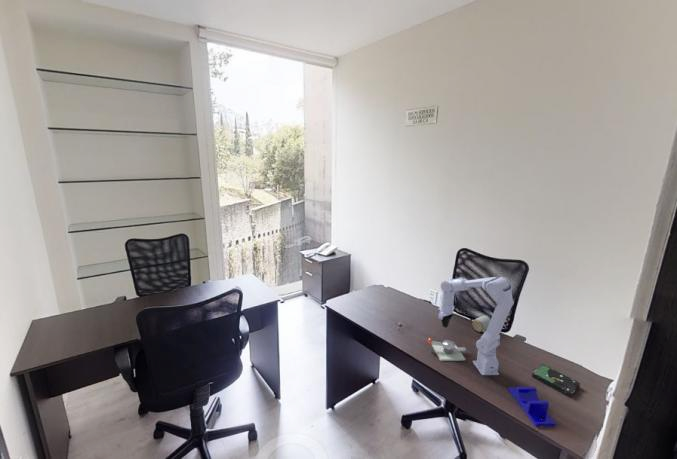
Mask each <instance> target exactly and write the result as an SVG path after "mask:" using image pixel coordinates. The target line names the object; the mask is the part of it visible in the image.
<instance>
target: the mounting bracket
mask: <svg viewBox="0 0 677 459" xmlns="http://www.w3.org/2000/svg"><path fill="white" fill-rule="evenodd" d="M537 390H538V389H537V388H536V387H535V386H509V387H508V391H509V393H510V394H511V395H512V397H513V398H514V399H515V401H516V403H518V405H519V406H520V408H521V409H522V410H523V411H524V413H525V415H526V416H527V417H528V418H529V420H530V421H531V423H532V424H533V425H534V427H535V428H538V427H539V428H541V427H540V426H543V427H542V428H552V427H551V426H554V427H553V428H555V427H556V425H557V424H556V421H555V420H553V418H552V417H551V416H550V415H549V413H548V409H549V402H548V401H547V400H540V399H539V397H538V392H537ZM541 419H542V420H541Z"/></svg>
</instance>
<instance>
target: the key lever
mask: <svg viewBox="0 0 677 459" xmlns="http://www.w3.org/2000/svg"><path fill="white" fill-rule="evenodd" d="M427 345H428V346H432V345H438V346H442V347H443V348H444V349H446V350H448V351H453V350H455V345H456V343H455V342H454V341H452V340H450V339H444V340H443V341H437V340H433V338H432V337H428V338H427Z"/></svg>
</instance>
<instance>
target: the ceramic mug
mask: <svg viewBox="0 0 677 459" xmlns="http://www.w3.org/2000/svg"><path fill="white" fill-rule="evenodd" d="M490 320H491V318H490V317H489V316H487V315H485V314H484V315H481V316H479V317H476V318H475V319H473V321H472V327H473V328H474V330H475V331H476V332H479V333H483V334H484V333H485V332H486V330H487V327H488V325H489V323H490Z"/></svg>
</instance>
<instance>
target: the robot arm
mask: <svg viewBox="0 0 677 459" xmlns="http://www.w3.org/2000/svg"><path fill="white" fill-rule="evenodd" d="M513 287H514V286H513V285H512V283H511V282H510V280H509V279H508V278H506V277H504V276H500V277H498V276H496V277H495V276H491V277H483V278H474V279H470V280H469V279H467V278H465V277H462V276H460V277H458V278H449V279H446V280H444V281H442V282H441V283H440V289H441V291H442V292H441V304H440V307H438V310H439V314H438V315H437V316H438V317H437V318H438V319H439V320H441V324H442V327H443V328H448V327H449V324H450V322H451V320H452V317H453V316H454V310H455V305H454V300H455V293H456V292H460V291H468V290H469V289H470V288H482V289H483V291H486V292H487V294H488V295H489V296H490V297H491V298H492V299H493V300H494V302H496V303H497V304H496V306H495V308H494V311H493V314H492V316H491V318H490V319H491V320H490V323H489V325H488V327H487V330H486V332H485V333H484V332H483V334H482V335H481V336H480V338H479V339H477V341H475V342H476V343H475V346H476V348H477V357H476V360H472V363H473V365H474V366H475V368H476V369H477V370H478V371H479V373H480V374H481V376H499V375H500V373H499V366H500V365H499V360H498V358H497V355H496V354H497V348H498V347H499V346H500V344H501V342H500V338H501V335H500V334H501V331H502V329H503V327H504V324H505V322H506V320H507V318H508V316H509V313H510V312H511V309H512V307H513V304H514V299H513Z"/></svg>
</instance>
